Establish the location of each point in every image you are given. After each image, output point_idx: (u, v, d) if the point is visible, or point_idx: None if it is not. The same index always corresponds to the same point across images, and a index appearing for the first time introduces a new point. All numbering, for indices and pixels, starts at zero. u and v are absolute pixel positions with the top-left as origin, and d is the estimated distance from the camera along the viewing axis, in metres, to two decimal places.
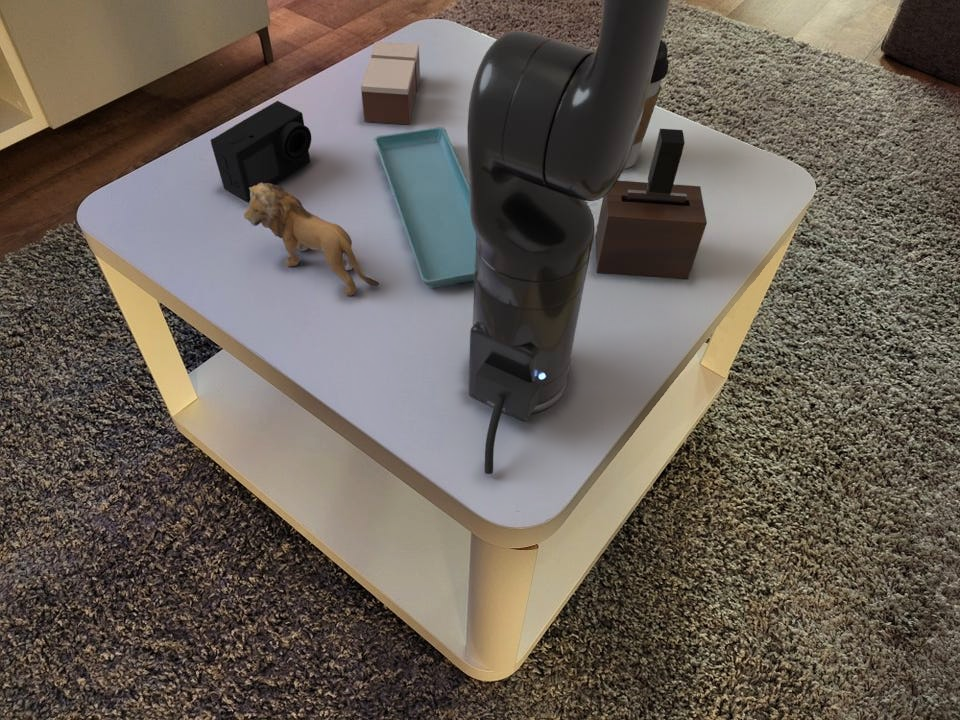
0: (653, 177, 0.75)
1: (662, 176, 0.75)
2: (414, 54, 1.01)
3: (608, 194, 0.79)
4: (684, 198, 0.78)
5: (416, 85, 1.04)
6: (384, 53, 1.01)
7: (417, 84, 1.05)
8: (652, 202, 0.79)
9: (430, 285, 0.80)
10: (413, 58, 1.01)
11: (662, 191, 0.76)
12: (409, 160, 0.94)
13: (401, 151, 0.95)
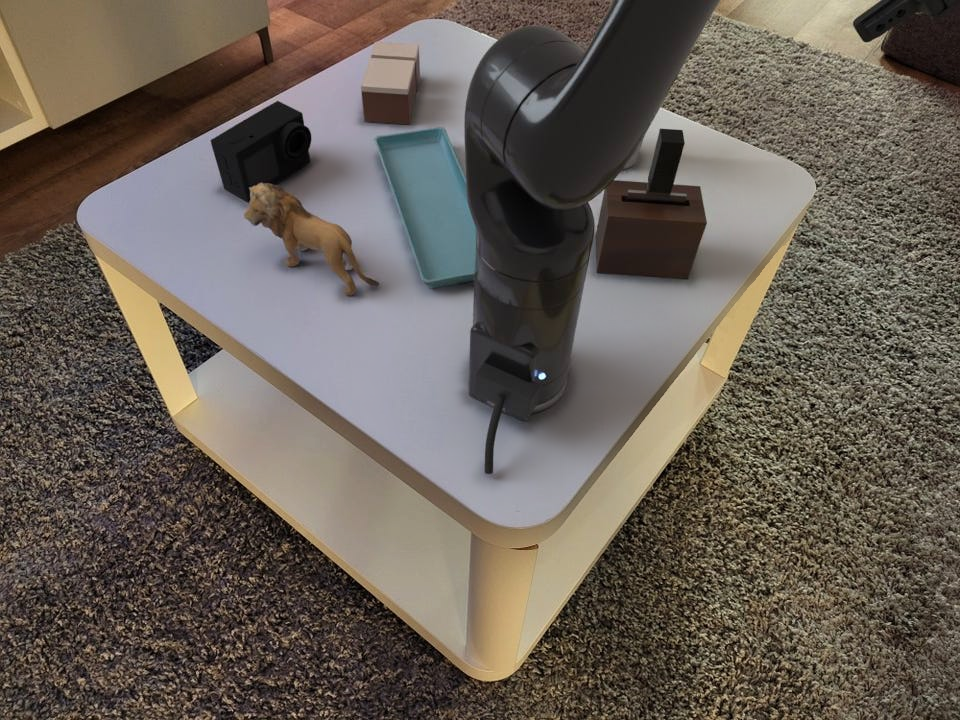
0: (653, 177, 0.75)
1: (662, 176, 0.75)
2: (414, 54, 1.01)
3: (608, 194, 0.79)
4: (684, 198, 0.78)
5: (416, 85, 1.04)
6: (384, 53, 1.01)
7: (417, 84, 1.05)
8: (652, 202, 0.79)
9: (430, 285, 0.80)
10: (413, 58, 1.01)
11: (662, 191, 0.76)
12: (409, 160, 0.94)
13: (401, 151, 0.95)
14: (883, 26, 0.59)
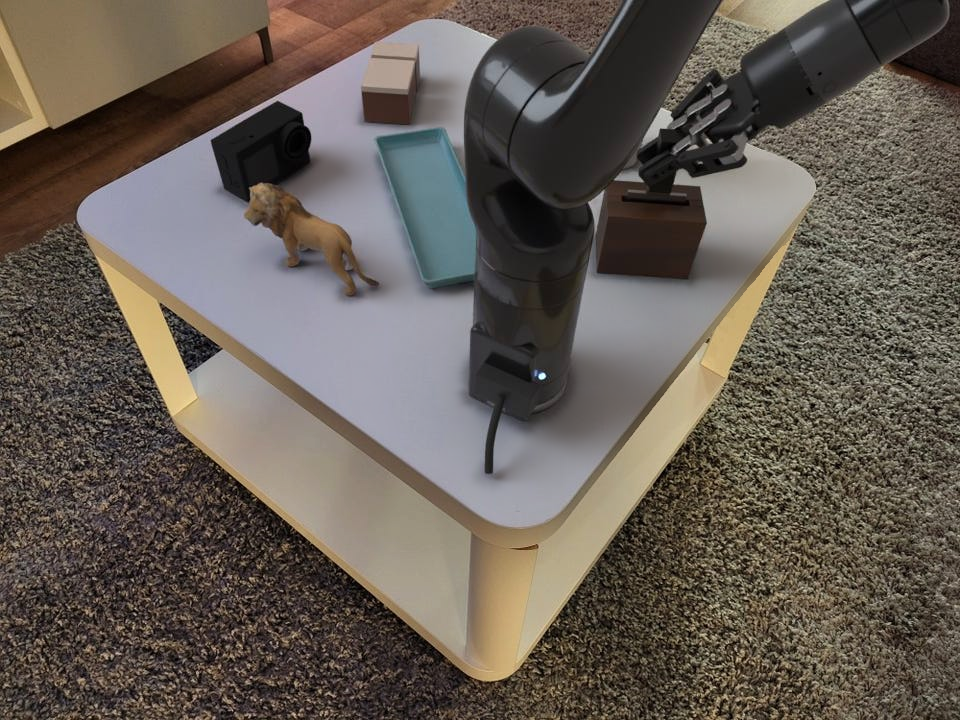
0: None
1: None
2: (414, 54, 1.01)
3: (608, 194, 0.79)
4: (684, 198, 0.78)
5: (416, 85, 1.04)
6: (384, 53, 1.01)
7: (417, 84, 1.05)
8: (652, 202, 0.79)
9: (430, 285, 0.80)
10: (413, 58, 1.01)
11: (662, 191, 0.76)
12: (409, 160, 0.94)
13: (401, 151, 0.95)
14: (658, 176, 0.74)
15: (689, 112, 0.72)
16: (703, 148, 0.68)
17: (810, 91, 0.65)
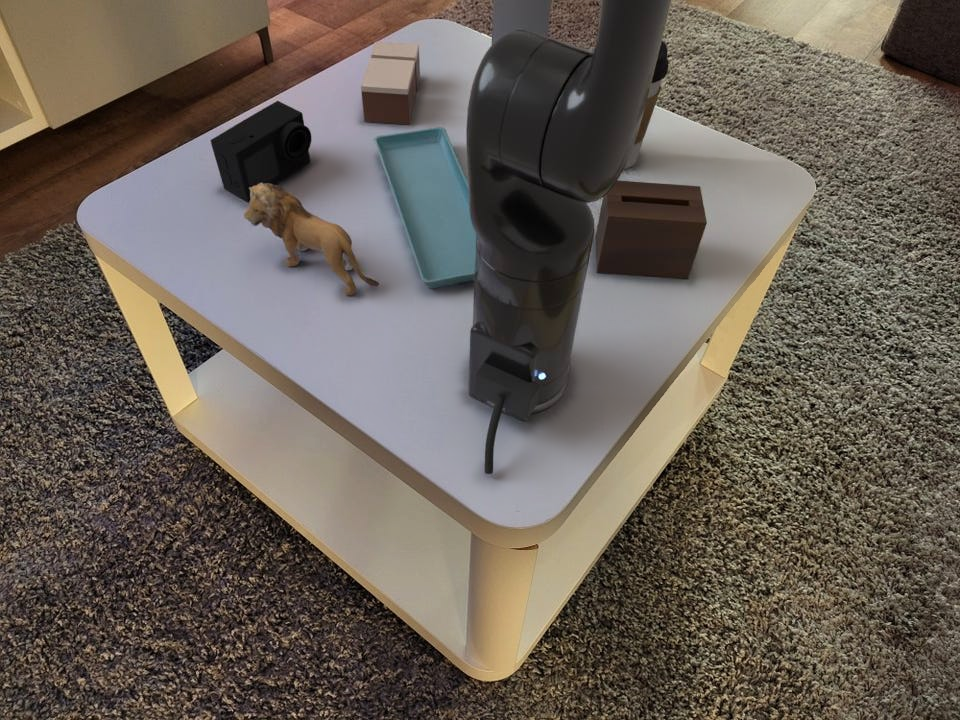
0: None
1: None
2: (414, 54, 1.01)
3: (608, 194, 0.79)
4: None
5: (416, 85, 1.04)
6: (384, 53, 1.01)
7: (417, 84, 1.05)
8: (519, 0, 0.78)
9: (430, 285, 0.80)
10: (413, 58, 1.01)
11: None
12: (409, 160, 0.94)
13: (401, 151, 0.95)
14: None
15: None
16: None
17: None
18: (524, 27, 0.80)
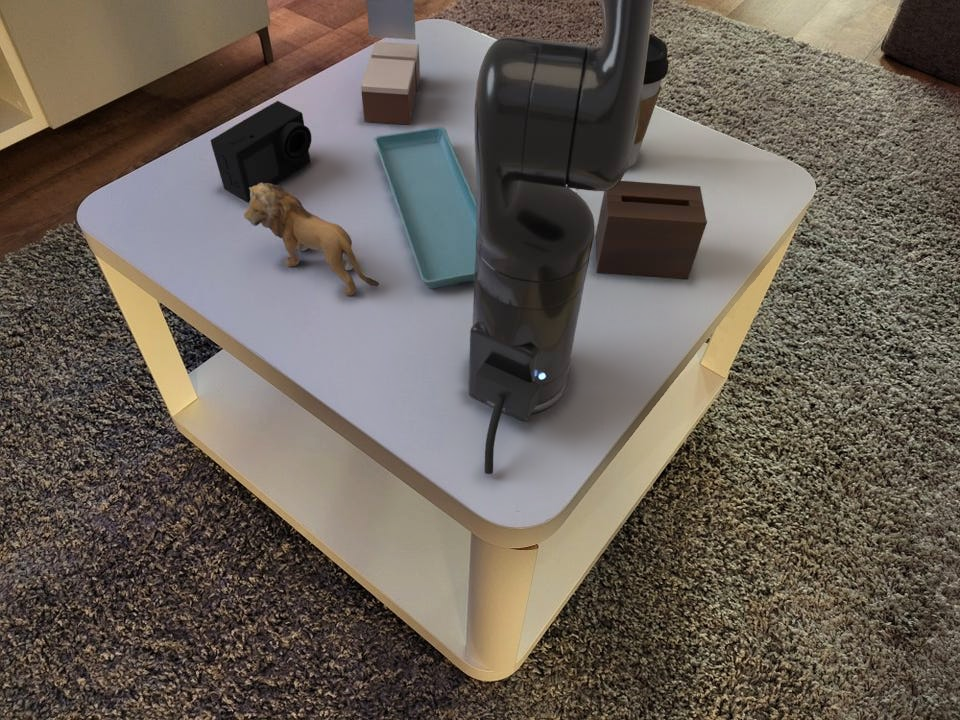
0: None
1: None
2: (414, 54, 1.01)
3: (608, 194, 0.79)
4: None
5: (416, 85, 1.04)
6: (384, 53, 1.01)
7: (417, 84, 1.05)
8: None
9: (430, 285, 0.80)
10: (413, 58, 1.01)
11: None
12: (409, 160, 0.94)
13: (401, 151, 0.95)
14: None
15: None
16: None
17: None
18: None
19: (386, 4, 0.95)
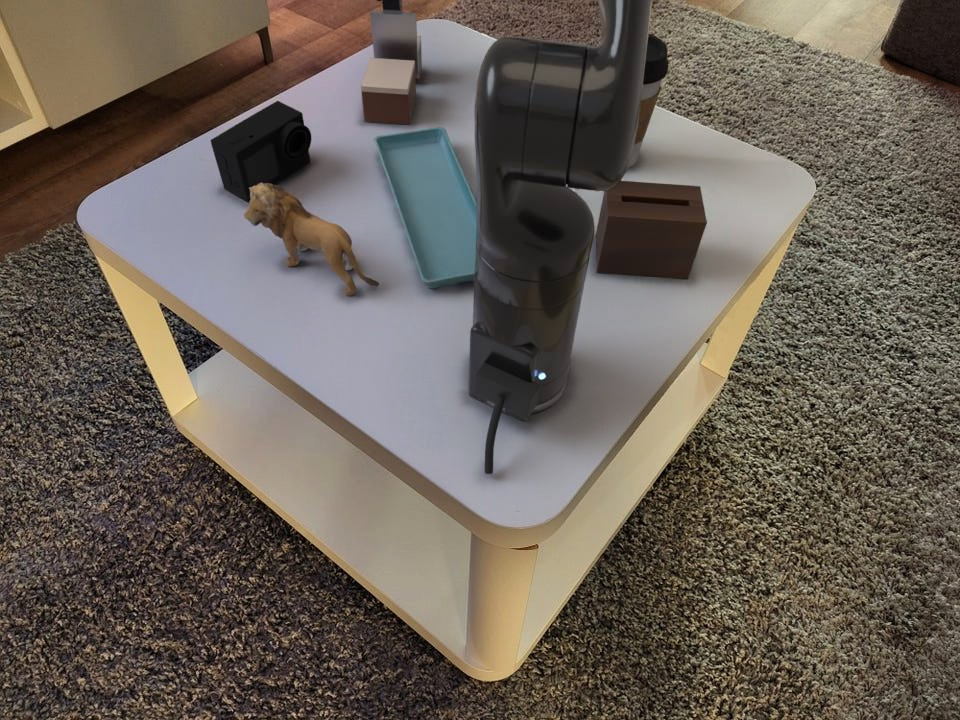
0: None
1: None
2: None
3: (608, 194, 0.79)
4: (414, 16, 0.99)
5: None
6: None
7: (419, 75, 1.06)
8: (391, 21, 0.99)
9: (430, 285, 0.80)
10: None
11: (392, 8, 0.97)
12: (409, 160, 0.94)
13: (401, 151, 0.95)
14: None
15: None
16: None
17: None
18: (398, 42, 1.01)
19: (391, 47, 1.02)
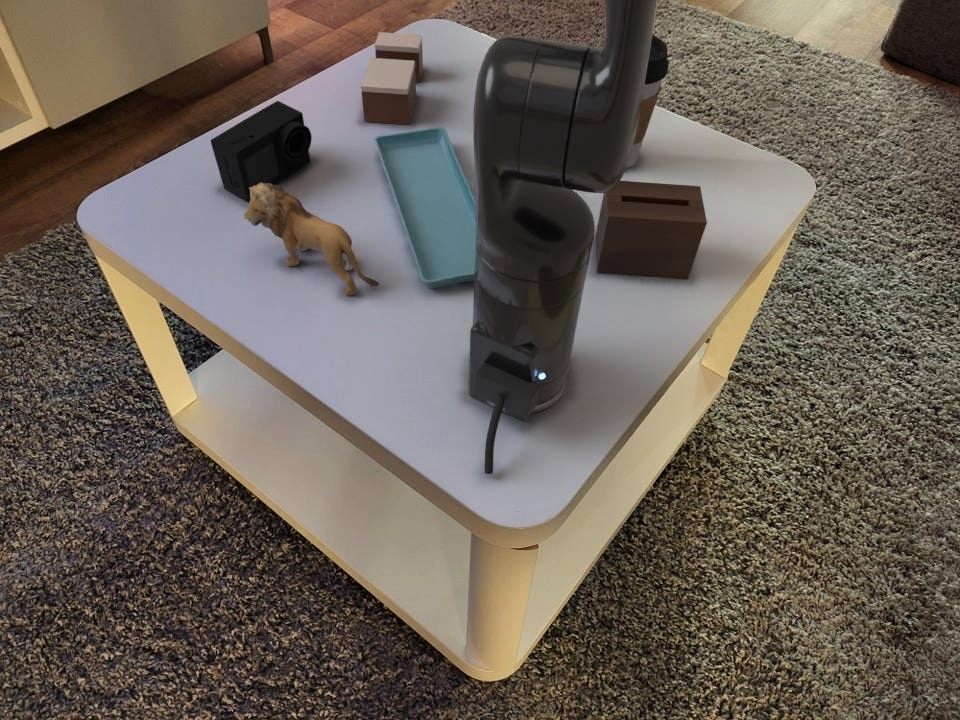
0: None
1: None
2: (417, 44, 1.03)
3: (608, 194, 0.79)
4: None
5: (419, 75, 1.06)
6: (388, 43, 1.03)
7: (420, 74, 1.06)
8: None
9: (430, 285, 0.80)
10: (416, 48, 1.03)
11: None
12: (409, 160, 0.94)
13: (401, 151, 0.95)
14: None
15: None
16: None
17: None
18: None
19: None
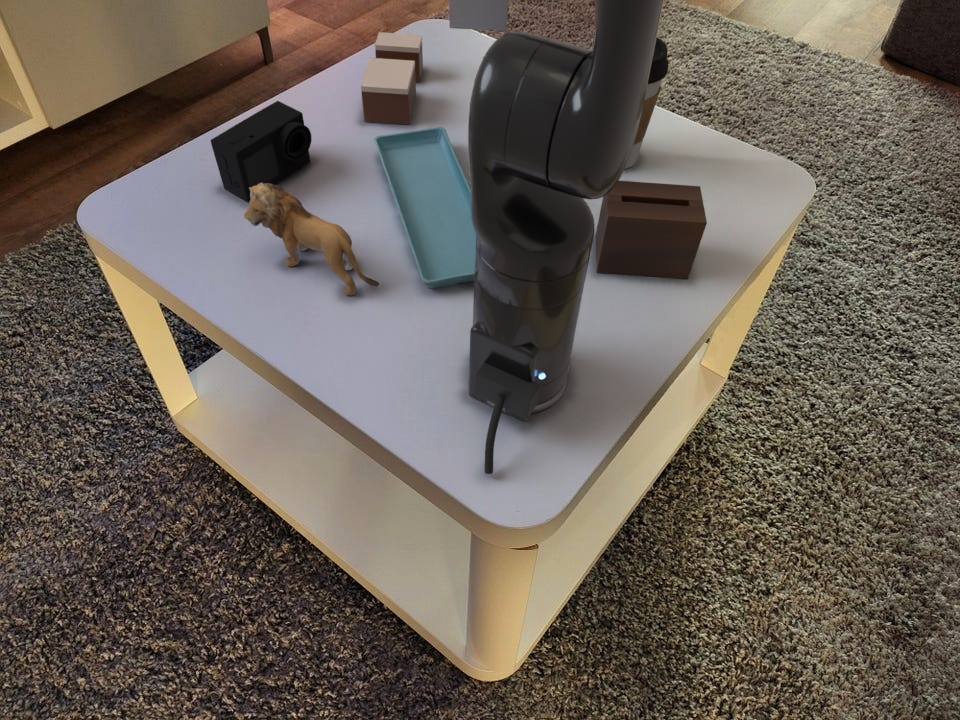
0: None
1: None
2: (417, 44, 1.03)
3: (608, 194, 0.79)
4: None
5: (419, 75, 1.06)
6: (388, 43, 1.03)
7: (420, 74, 1.06)
8: None
9: (430, 285, 0.80)
10: (416, 48, 1.03)
11: None
12: (409, 160, 0.94)
13: (401, 151, 0.95)
14: None
15: None
16: None
17: None
18: None
19: None
